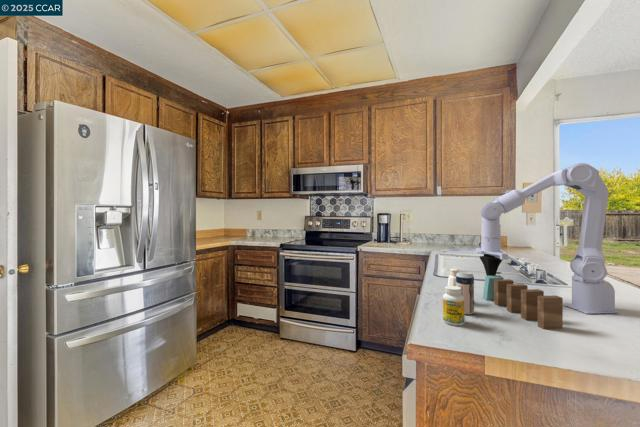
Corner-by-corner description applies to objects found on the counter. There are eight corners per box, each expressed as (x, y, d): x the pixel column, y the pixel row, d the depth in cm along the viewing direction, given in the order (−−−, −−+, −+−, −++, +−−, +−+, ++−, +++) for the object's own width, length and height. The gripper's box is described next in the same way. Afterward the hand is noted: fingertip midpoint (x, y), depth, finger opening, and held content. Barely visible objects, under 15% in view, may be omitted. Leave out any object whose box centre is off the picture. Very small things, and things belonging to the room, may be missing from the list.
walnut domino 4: (537, 326, 77) (537, 295, 77) (556, 325, 77) (555, 295, 77) (543, 329, 75) (543, 298, 75) (562, 328, 75) (562, 297, 75)
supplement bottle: (462, 319, 82) (462, 285, 82) (466, 327, 77) (465, 290, 77) (442, 317, 84) (441, 284, 83) (443, 325, 78) (443, 289, 78)
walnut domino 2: (506, 310, 89) (506, 284, 89) (522, 310, 89) (522, 283, 89) (511, 312, 87) (511, 286, 87) (527, 312, 87) (527, 285, 87)
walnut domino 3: (521, 317, 83) (520, 289, 83) (538, 317, 83) (538, 289, 83) (526, 320, 81) (526, 291, 81) (543, 319, 81) (543, 291, 81)
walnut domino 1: (494, 304, 95) (494, 279, 95) (509, 303, 95) (509, 279, 95) (498, 306, 93) (498, 281, 93) (513, 305, 93) (513, 280, 93)
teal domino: (500, 299, 99) (503, 277, 98) (486, 300, 99) (489, 278, 98) (496, 296, 101) (499, 275, 100) (482, 297, 101) (485, 275, 99)
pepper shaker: (461, 305, 94) (461, 271, 94) (444, 302, 97) (443, 269, 97) (465, 301, 98) (465, 268, 98) (448, 298, 101) (448, 266, 101)
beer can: (476, 316, 85) (476, 274, 85) (458, 315, 86) (458, 274, 85) (471, 310, 89) (471, 271, 89) (454, 309, 90) (454, 270, 90)
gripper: (467, 236, 108) (468, 273, 108) (492, 240, 93) (492, 282, 93) (486, 235, 108) (486, 272, 108) (514, 239, 93) (514, 282, 93)
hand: (491, 277), depth 101 cm, fingers closed
